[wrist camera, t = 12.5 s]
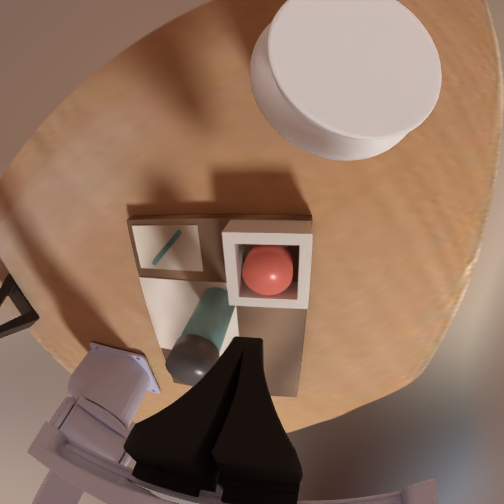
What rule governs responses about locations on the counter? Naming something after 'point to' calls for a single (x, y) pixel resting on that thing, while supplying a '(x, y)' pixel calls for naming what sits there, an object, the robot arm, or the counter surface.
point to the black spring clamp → (22, 305)
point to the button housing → (267, 235)
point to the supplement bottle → (345, 75)
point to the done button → (268, 268)
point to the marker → (201, 337)
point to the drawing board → (212, 275)
